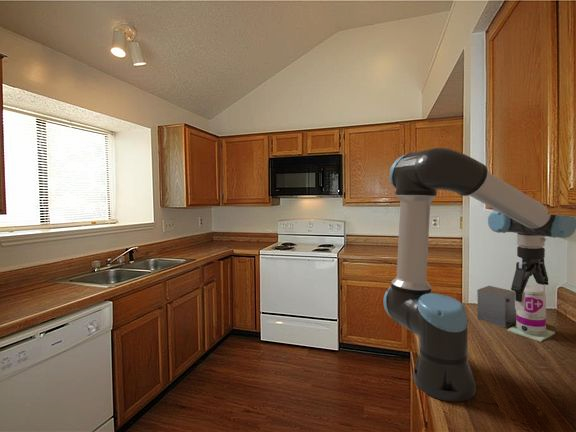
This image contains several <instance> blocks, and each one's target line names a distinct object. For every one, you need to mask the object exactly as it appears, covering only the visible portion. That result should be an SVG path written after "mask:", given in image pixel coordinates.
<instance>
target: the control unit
mask: <svg viewBox="0 0 576 432" xmlns="http://www.w3.org/2000/svg"><path fill="white" fill-rule="evenodd" d="M476 291H477V294H476V295H477V320H479V319H481V320H480V321H482V320H484V321H483V322H485V321H487V322H486V323H488V322H490V323H489V324H491V323H494V324H497V325H500V326H503V327H505V328H504V329H507V328H509V327H511V326H513V325H515V324H516V309H515V291H512V290H511V289H506V288H501V287H496V286H492V285H487V286H483V287H481V288H479V289H477V290H476ZM514 323H515V324H514ZM494 324H493V325H494ZM512 324H513V325H512ZM497 325H496V326H497ZM510 325H511V326H510ZM500 326H499V327H500ZM508 326H509V327H508ZM503 327H502V328H503ZM506 327H507V328H506Z"/></svg>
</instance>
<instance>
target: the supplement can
mask: <svg viewBox="0 0 576 432" xmlns="http://www.w3.org/2000/svg"><path fill="white" fill-rule="evenodd" d="M524 292H525V311H524V312H523V311H520V310H516V323H515V325H516V326H517V328H518V329H519V330H520V331H522V332H524V333H528V334H533V335H541V334H543V333H545V332H546V330H547V294H546V292H545V293H544V290H543V289H541V288H537V287H535V286H530V285H526V287H525V289H524Z"/></svg>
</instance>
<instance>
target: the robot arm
mask: <svg viewBox="0 0 576 432" xmlns="http://www.w3.org/2000/svg"><path fill="white" fill-rule="evenodd" d="M389 181H390V184H391V185H392V187H393V188H394V189H395V197H396V198H397V200H398V201H399V203H400V205H399V206H400V207H399V222H398V223H399V224H398V240H397V241H398V242H397V243H398V244H397V245H398V247H397V263H396V276H395V278H394V279H392V280H391V283H390V286H389V287H388V288H387V290H386V291H385V293H384V295H383V307H384V310H385V312H386V314H387V316H389V317H390V318H391V319H392V320H393V321H394V322H395V323H396V324H397V325H398V324H399V325H401V326H402V327H404V328H405V329H407V330H408V331H410V332H411V333H413V334H415V335H416V336H417V337H418V338H419V341H418V342H419V343H418V344H419V353H418V355H417V359H416V363H415V365H414V368H413V381H414V384H415V385H416V387H417V388H418V389H419V390H421V391H422V392H423V393H424V394H426V395H428V396H430V397H432V398H434V399H438V400H441V401H444V402H451V403H452V402H454V403H457V402H460V403H462V402H466V401H469V400H471V399H472V398H473V397H475V395H476V392H477V391H476V390H477V389H476V387H477V386H476V385H477V383H476V380H475V378H474V375H473V372H472V369H471V366H470V363H469V361H468V324H469V323H468V317H467V309H466V307H465V305H464V304H463V303H462V302H461V301H459V300H458V299H456V298H454V297H452V296H451V295H447V294H441V293H435V292H434V293H433V292H432V285H431V284H430V282H428V280H427V276H428V275H427V273H428V272H427V271H428V255H429V254H428V253H429V252H428V251H429V237H430V233H429V232H430V218H431V217H430V216H431V203H432V202H433V200H435V199H436V198H437V195H438V194H437V192H438V190H439V191H440V190H441V191H449V192H453V193H456V194H458V195H460V196H462V197H468V196H470V197H472V198H474V199H475V200H477V201H478V202H481V203H482V204H484V205H486V206H488V207H490V208H492V209H493V210H494V211H492V212H491V213H489V215H488V217H487V225H488V227H489V229H490V230H491V231H493V232H494V233H499V234H500V233H503V234H506V233H516V238H517V239H516V245H517V247H516V250H517V251H516V252H517V253H516V255H517V257H518V258H520V259H522V260H521V262H520V261H519V262H518V261H517V262H516V263H515V265H516V266H515V272H514V276H513V279H512V283H511V288H510V291H515V309H516V310H520V311H523V312H524V311H525V292H524V289H525V287H526V286H527V284H528V281H529V279H530V277H532V276H533V279H534V280H535V282H536V283H534V287H537V288H541V289H543V290H544V293H545V294H546V286H548V285H549V276H548V273H547V269H546V264H545V255H546V252H545V251H546V249H545V244H546V242H545V241H547V238H545V237H548V238H554V239H555V238H562V239H566V238H570V237H571V236H573V235H574V233H575V232H576V216H575V217H570V216H557V215H548V214H547V213H548V209H547V205H545V206H544V205H543V204H541V203H539V202H540V201H538V200H536V199H535V198H533V197H531V196H530V195H527V194H526V193H524V192H523V191H521V190H519V189H518V188H515V187H514V186H512V185H510V184H509V183H507V182H505V181H504V180H502V179H500V178H498V177H497V176H495V175H494V174H492V173H491V172H489V169H488V167H487V165H485V164H484V163H482V162H480V161H478V160H477V159H475V158H473V157H471V156H469V155H466V154H465V153H462V152H459V151H457V150H453V149H451V148H446V147H433V148H429V149H423V150H419V151H413V152H408V153H406V154H404V155H401V156H400V157H398V158H396V160H395V161H394V162H393V163H392V165H391V167H390V171H389Z"/></svg>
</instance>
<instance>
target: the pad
mask: <svg viewBox="0 0 576 432" xmlns="http://www.w3.org/2000/svg"><path fill="white" fill-rule="evenodd" d="M507 331H508V332H510V331H511V332H510V333H513V334H516V335H520V336H522V337H526V338H527V339H531V340H534V341H537V342H542V341H545V340H547V339H548V338H550V337H552V336H554V335H555V334H556V332H555V331H554V330H553V331H552V330H550V329H546V332H545V333H543V334H541V335H533V334H528V333H524V332H522V331H520V330H519V329H518V328H517V326H516V324H514V326H513V325H512V327H511V326H510V327H508V328H507Z"/></svg>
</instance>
